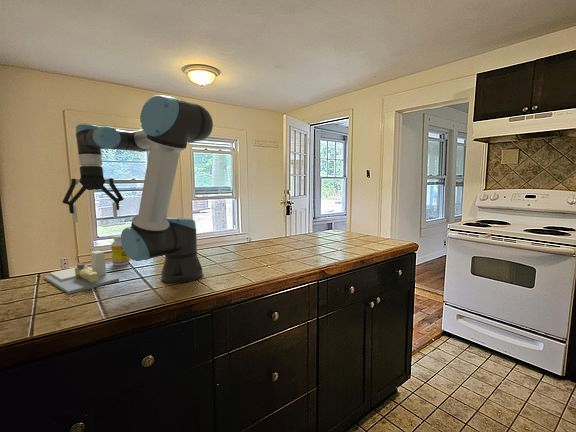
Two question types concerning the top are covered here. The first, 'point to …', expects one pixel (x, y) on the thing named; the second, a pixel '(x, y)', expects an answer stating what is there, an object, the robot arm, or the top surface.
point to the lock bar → (86, 274)
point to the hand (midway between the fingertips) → (96, 220)
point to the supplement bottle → (118, 252)
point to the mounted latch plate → (76, 283)
